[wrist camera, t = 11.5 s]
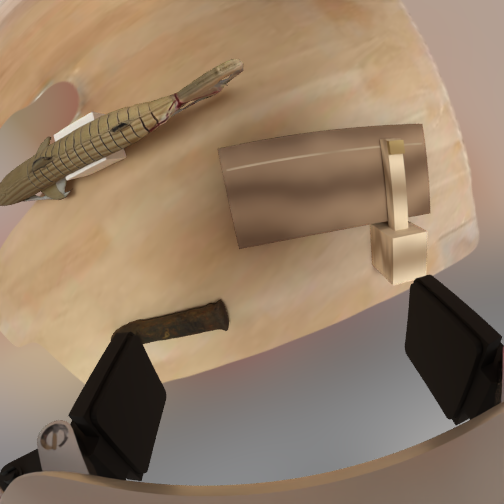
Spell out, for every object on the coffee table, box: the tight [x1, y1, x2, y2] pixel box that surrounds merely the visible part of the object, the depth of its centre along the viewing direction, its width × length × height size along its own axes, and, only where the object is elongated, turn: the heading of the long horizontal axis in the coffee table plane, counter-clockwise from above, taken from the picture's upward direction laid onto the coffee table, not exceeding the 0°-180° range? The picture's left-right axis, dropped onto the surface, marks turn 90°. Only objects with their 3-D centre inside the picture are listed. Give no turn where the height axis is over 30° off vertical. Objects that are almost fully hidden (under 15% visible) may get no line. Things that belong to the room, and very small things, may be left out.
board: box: [218, 124, 430, 249], centre depth 34 cm, size 12×26×3 cm, turn 101°
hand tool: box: [111, 300, 229, 344], centre depth 39 cm, size 19×4×5 cm, turn 103°
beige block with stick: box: [370, 138, 427, 285], centre depth 33 cm, size 17×5×7 cm, turn 11°
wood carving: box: [0, 59, 244, 206], centre depth 27 cm, size 9×35×11 cm, turn 107°
